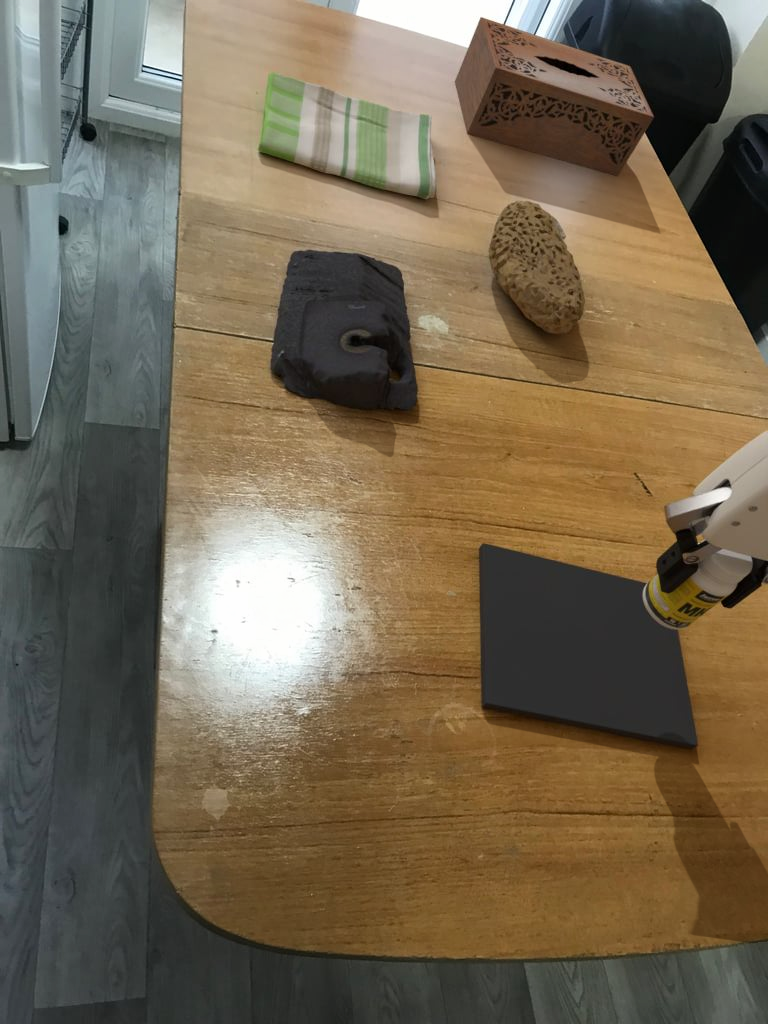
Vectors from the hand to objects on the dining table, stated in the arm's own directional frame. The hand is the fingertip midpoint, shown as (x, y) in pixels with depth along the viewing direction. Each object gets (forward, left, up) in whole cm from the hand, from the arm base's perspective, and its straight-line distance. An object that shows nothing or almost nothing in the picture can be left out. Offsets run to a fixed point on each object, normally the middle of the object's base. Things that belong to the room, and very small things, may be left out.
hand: (693, 583), depth 67 cm
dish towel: (+31, -68, -13) cm, 76 cm away
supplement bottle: (0, 0, -4) cm, 4 cm away
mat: (+3, 0, -13) cm, 13 cm away
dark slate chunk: (+28, -32, -13) cm, 44 cm away
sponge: (+6, -50, -13) cm, 52 cm away
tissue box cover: (+2, -91, -13) cm, 92 cm away
